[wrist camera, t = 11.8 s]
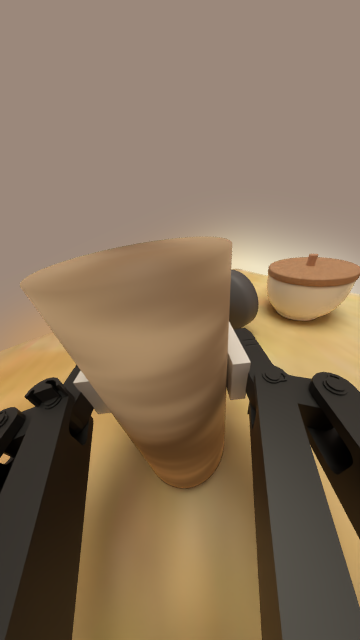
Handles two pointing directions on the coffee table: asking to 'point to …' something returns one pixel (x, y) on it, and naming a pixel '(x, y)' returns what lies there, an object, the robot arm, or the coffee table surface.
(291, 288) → the lidded jar
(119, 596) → the coffee table surface
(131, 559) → the coffee table surface
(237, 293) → the trolley
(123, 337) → the tan wooden cylinder
